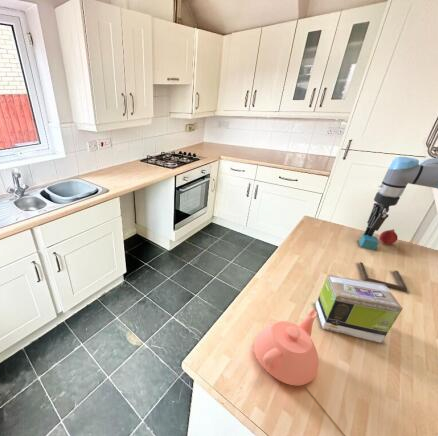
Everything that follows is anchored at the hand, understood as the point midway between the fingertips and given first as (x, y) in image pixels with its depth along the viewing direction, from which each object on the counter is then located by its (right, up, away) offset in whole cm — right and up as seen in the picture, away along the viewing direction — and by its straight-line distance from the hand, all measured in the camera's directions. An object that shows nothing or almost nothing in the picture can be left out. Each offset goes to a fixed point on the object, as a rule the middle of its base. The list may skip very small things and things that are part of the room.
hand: (365, 239), depth 115 cm
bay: (-13, -13, -20) cm, 27 cm away
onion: (+9, -2, 0) cm, 9 cm away
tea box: (-41, -24, -38) cm, 61 cm away
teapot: (-66, -29, -47) cm, 86 cm away
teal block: (-2, -3, -2) cm, 4 cm away
